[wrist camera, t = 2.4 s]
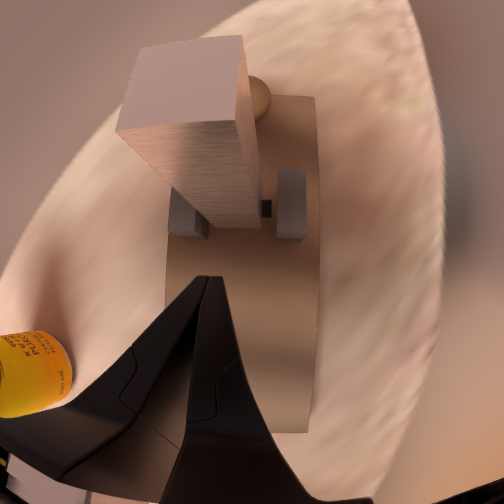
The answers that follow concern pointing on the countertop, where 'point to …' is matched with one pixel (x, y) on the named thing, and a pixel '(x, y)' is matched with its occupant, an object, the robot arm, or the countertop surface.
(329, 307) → the countertop surface
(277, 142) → the base
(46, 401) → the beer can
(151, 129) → the lever
